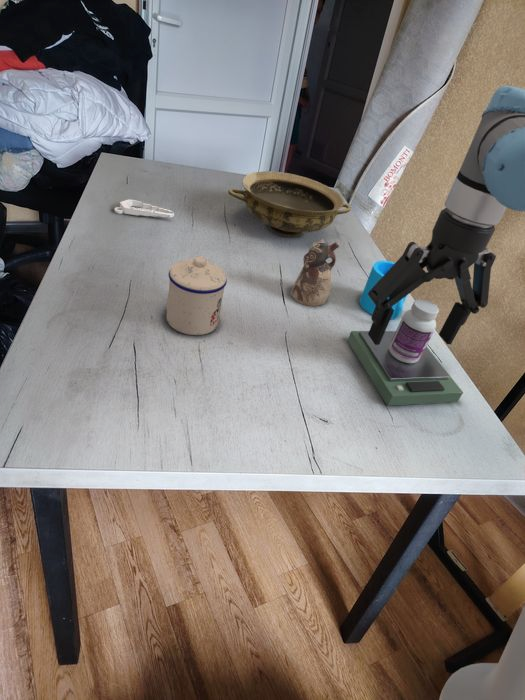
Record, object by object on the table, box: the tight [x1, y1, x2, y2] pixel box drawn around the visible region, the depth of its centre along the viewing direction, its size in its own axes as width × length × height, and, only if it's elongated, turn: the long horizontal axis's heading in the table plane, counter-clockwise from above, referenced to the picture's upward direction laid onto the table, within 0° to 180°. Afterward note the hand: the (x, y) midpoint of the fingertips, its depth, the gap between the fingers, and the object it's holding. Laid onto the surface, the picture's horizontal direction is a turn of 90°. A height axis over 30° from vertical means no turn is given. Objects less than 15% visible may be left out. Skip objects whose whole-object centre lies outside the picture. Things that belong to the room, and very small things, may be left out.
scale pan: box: [359, 332, 449, 382], centre depth 80 cm, size 12×11×1 cm
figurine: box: [290, 238, 340, 307], centre depth 90 cm, size 7×7×12 cm
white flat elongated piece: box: [114, 199, 175, 219], centre depth 108 cm, size 13×5×2 cm, turn 94°
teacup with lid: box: [166, 255, 228, 336], centre depth 77 cm, size 12×9×12 cm
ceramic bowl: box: [227, 170, 352, 237], centre depth 114 cm, size 30×24×10 cm
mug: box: [359, 260, 408, 321], centre depth 92 cm, size 12×8×8 cm
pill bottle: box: [389, 298, 440, 363], centre depth 76 cm, size 5×5×10 cm
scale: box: [347, 330, 464, 407], centre depth 80 cm, size 16×13×3 cm
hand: (409, 339), depth 78 cm, fingers open, 13 cm apart
